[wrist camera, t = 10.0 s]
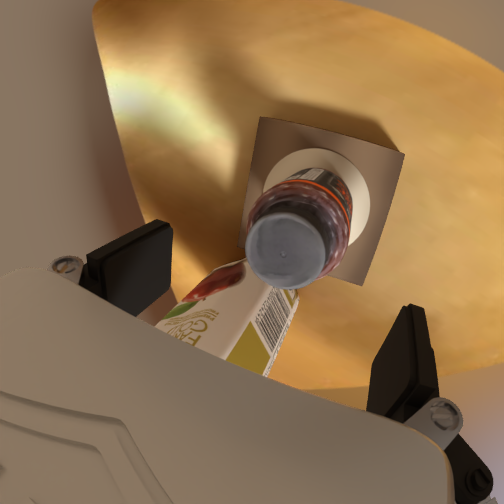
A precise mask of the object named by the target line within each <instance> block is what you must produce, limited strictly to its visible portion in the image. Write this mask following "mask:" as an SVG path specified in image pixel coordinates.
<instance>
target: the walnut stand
mask: <svg viewBox="0 0 504 504" xmlns="http://www.w3.org/2000/svg"><path fill="white" fill-rule="evenodd" d="M404 156H405V154H404V153H401V152H399V151H396V150H393V149H390V148H387V147H384V146H381V145H377V144H374V143H371V142H368V141H364V140H361V139H357V138H354V137H350V136H347V135H343V134H339V133H336V132H332V131H328V130H324V129H320V128H316V127H311V126H307V125H303V124H298V123H293V122H289V121H284V120H279V119H274V118H268V117H260V119H259V124H258V130H257V135H256V141H255V146H254V152H253V157H252V163H251V169H250V174H249V180H248V186H247V191H246V197H245V203H244V209H243V215H242V221H241V226H240V232H239V238H238V244H237V247H240V248H243V249H245V242H246V238H247V232H246V226H247V219H248V215H249V213H250V210H251V208H252V206H253V205H254V203H255V202H256V201H257V199H258V198H259V197H260V196H261V195H262V194H263V193H264V192H266V191H267V190H268V189H270V188H272V187H273V186H275V185H276V184H278V183H280V182H281V181H283V180H285V179H286V178H288V177H290V176H291V175H293V174H295V173H297V172H298V171H301V170H303V169H307V168H322V169H326V170H329V171H331V172H333V173H335V174H336V175H338V176H339V177H340V178H341V179H342V180H343V181H344V182H345V184H346V185H347V187H348V189H349V191H350V193H351V196H352V201H353V212H352V221H351V230H350V237H349V243H348V247H347V250H346V252H345V255H344V257H343V259H342V260H341V262H340V264H339V265H338V266H337V267H336V268H335V269H334V270H333V271H332V272H330V273H329V274H328V276H331V277H334V278H337V279H341V280H344V281H347V282H350V283H353V284H356V285H360V286H362V285H363V283H364V280H365V278H366V275H367V272H368V270H369V267H370V265H371V262H372V259H373V256H374V254H375V251H376V248H377V245H378V242H379V240H380V237H381V234H382V231H383V228H384V225H385V222H386V219H387V215H388V212H389V209H390V206H391V203H392V199H393V196H394V193H395V189H396V186H397V182H398V179H399V175H400V172H401V168H402V164H403V160H404Z"/></svg>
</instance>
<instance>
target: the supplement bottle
mask: <svg viewBox="0 0 504 504" xmlns="http://www.w3.org/2000/svg"><path fill="white" fill-rule="evenodd" d="M352 212H353V201H352V196H351V193H350V191H349V189H348V187H347V185H346V184H345V182H344V181H343V180H342V179H341V178H340V177H339V176H338V175H336V174H335V173H333V172H331V171H329V170H326V169H322V168H307V169H303V170H301V171H298V172H297V173H295V174H293V175H291V176H290V177H288V178H286V179H285V180H283V181H281V182H280V183H278V184H276V185H275V186H273V187H272V188H270V189H268V190H267V191H266V192H264V193H263V194H262V195H261V196H260V197H259V198H258V199H257V201H256V202H255V203H254V205H253V206H252V208H251V210H250V213H249V215H248V219H247V226H246V232H247V238H246V242H245V253H246V257H247V261H248V264H249V265H250V267H251V269H252V270H253V272H254V273H255V274H256V276H257V277H259V278H260V279H261V280H262V281H264V282H265V283H267V284H268V285H271V286H273V287H276V288H279V289H285V290H292V289H299V288H302V287H304V286H307V285H308V284H310V283H311V282H313V281H315V280H318V279H320V278H322V277H324V276H326V275H328V274H329V273H330V272H332V271H333V270H334V269H335V268H336V267H337V266H338V265H339V264H340V262H341V260H342V259H343V257H344V255H345V252H346V250H347V247H348V243H349V237H350V230H351V221H352Z"/></svg>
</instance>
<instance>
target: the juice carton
mask: <svg viewBox="0 0 504 504" xmlns="http://www.w3.org/2000/svg"><path fill="white" fill-rule="evenodd" d="M298 303H299V296H298V293H297V291H296V289H292V290H285V289H279V288H276V287H273V286H271V285H268V284H267V283H265V282H264V281H262V280H261V279H260V278H259V277H257V276H256V274H255V273H254V272H253V270H252V269H251V267H250V265H249V264H248V261H247V257H246V258H244V259H242V260H239V261H235V262H232V263H229V264H226V265H223V266H220V267H218V268H216V269H214V270H213V271H212V272H211V273H210V274H209V275H207V276H206V277H205V278H204V279H203V280H202V281H201V282H200V283H199V284H198V285H197V286H196V287H195V288H194V289H193V290H192V291H191V292H190V293H189V294H188V295H187V296H186V297H185V298H184V299H183V300H182V301H181V302H179V303H178V304H177V305H176V306H175V307H174V308H173V309H172V310H171V311H170V312H169V313H168V314H167V315H166V316H165V317H164V318H163V319H162V320H161V321H160V322H159V323H158V324H157V325H156V326H155V327H156V328H158V329H159V330H161V331H163V332H165V333H167V334H169V335H171V336H174V337H176V338H178V339H180V340H182V341H184V342H186V343H188V344H190V345H192V346H194V347H197V348H199V349H201V350H203V351H205V352H208V353H210V354H212V355H214V356H217V357H219V358H221V359H223V360H226V361H228V362H231V363H233V364H235V365H238V366H240V367H243V368H245V369H247V370H250V371H252V372H255V373H257V374H260V375H263V376H265V377H267V376H268V374H269V372H270V369H271V367H272V365H273V363H274V360H275V358H276V356H277V354H278V351H279V349H280V347H281V344H282V342H283V340H284V337H285V335H286V332H287V330H288V328H289V325H290V323H291V320H292V318H293V316H294V313H295V311H296V308H297V306H298Z"/></svg>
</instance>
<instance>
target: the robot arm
mask: <svg viewBox="0 0 504 504" xmlns="http://www.w3.org/2000/svg"><path fill="white" fill-rule="evenodd" d="M172 241H173V229H172V228H171V226H170V224H169V223H167V222H164V221H161V220H158V219H156V220H154V221H152V222H150V223H148V224H146V225H143V226H141V227H140V228H137V229H135V230H133V231H131V232H129V233H127V234H125V235H123V236H121V237H119V238H118V239H116V240H113V241H112V242H110V243H108V244H106V245H104V246H102V247H100V248H98V249H96V250H94V251H92V252H91V253H89V254H87V255H86V256H87V263H86V264H84V263H83V261H82V259H80V258H79V257H76V256H63V257H59V258H57V259H55V260H53V261H52V262H51V263H50V264H49V266H48V268H47V270H44V269H39V268H31V267H24V268H19V269H17V270H14V271H12V272H10V273H8V274H5V275H4V276H2V277H0V504H498V503H497V501H496V498H495V497H494V498H492V499H491V498H490V493H491V491H492V488H493V477H492V474H491V472H490V470H489V469H488V467H487V466H486V465H485V464H484V463H483V461H482V460H481V459H480V458H479V457H478V456H477V454H476V453H475V452H474V451H473V450H472V449H471V448H470V447H469V445H468V444H467V443H466V442H465V441H464V439H463V438H462V437H461V436H460V435H459V434H458V433H459V432H460V430H461V428H462V426H463V417H462V414H461V412H460V409H459V408H458V407H457V406H456V405H455V404H454V403H453V402H452V401H450V400H448V399H446V398H441V397H439V387H438V378H437V370H436V363H435V356H434V351H433V348H432V347H431V344H430V338H429V332H428V326H427V321H426V316H425V311H424V308H422V307H419V306H416V305H413V304H409V305H408V306H403V307H402V309H401V310H400V312H399V314H398V316H397V318H396V320H395V322H394V324H393V326H392V328H391V330H390V332H389V334H388V335H387V337H386V339H385V341H384V343H383V344H382V346H381V348H380V350H379V352H378V353H377V355H376V357H375V359H374V361H373V363H372V367H371V377H370V385H369V394H368V401H367V408H366V411H364V410H361V409H358V408H355V407H352V406H349V405H346V404H343V403H339V402H336V401H333V400H330V399H327V398H323V397H321V396H318V395H314V394H311V393H309V392H306V391H303V390H300V389H297V388H294V387H292V386H289V385H286V384H284V383H281V382H278V381H276V380H273V379H270V378H268V377H265V376H263V375H260V374H257V373H255V372H252V371H250V370H247V369H245V368H243V367H240V366H238V365H235V364H233V363H231V362H228V361H226V360H223V359H221V358H219V357H217V356H214V355H212V354H210V353H208V352H205V351H203V350H201V349H199V348H197V347H194V346H192V345H190V344H188V343H186V342H184V341H182V340H180V339H178V338H176V337H174V336H171V335H169V334H167V333H165V332H163V331H161V330H159V329H158V328H156V327H154V326H152V325H150V324H148V323H146V322H144V321H142V320H140V319H138V318H136V316H137V315H139V314H140V313H141V312H142V311H143V310H144V309H146V308H147V307H148V306H149V305H150V304H152V303H153V302H154V301H155V300H156V299H158V298H159V297H160V296H161V295H163V294H164V293H165V292H166V291H167V290H168V289H169V287H170V284H171V262H172Z"/></svg>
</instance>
